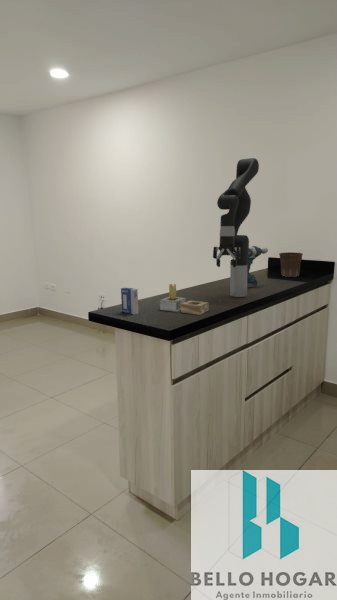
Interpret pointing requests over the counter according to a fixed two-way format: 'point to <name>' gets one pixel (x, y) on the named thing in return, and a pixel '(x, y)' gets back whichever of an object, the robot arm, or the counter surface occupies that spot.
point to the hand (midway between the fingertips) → (226, 267)
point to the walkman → (129, 300)
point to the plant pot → (290, 264)
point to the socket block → (171, 304)
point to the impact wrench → (252, 255)
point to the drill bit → (172, 291)
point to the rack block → (195, 307)
